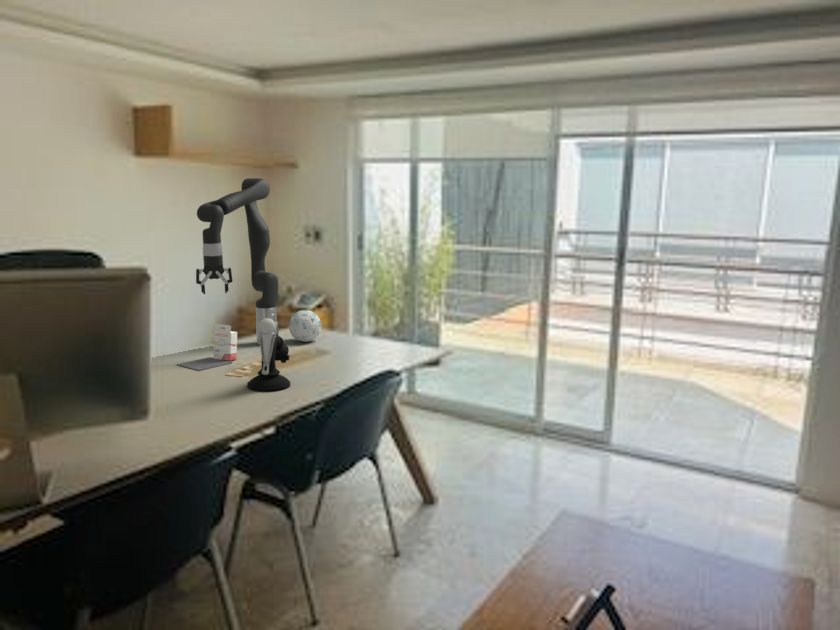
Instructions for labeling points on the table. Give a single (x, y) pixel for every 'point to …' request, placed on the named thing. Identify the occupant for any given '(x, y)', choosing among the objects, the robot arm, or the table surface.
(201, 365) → the rubber mat
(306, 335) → the puzzle ball
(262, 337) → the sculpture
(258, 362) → the beech turner
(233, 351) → the ink cartridge box
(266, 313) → the robot arm
